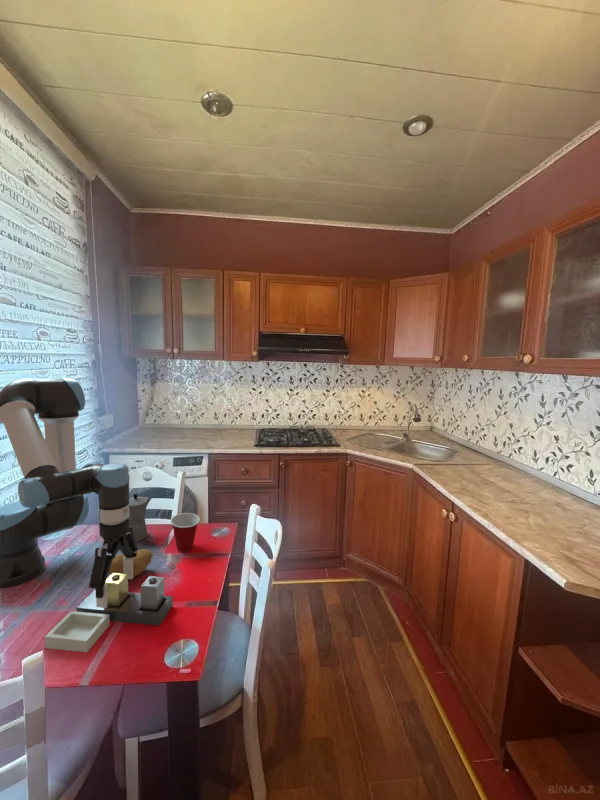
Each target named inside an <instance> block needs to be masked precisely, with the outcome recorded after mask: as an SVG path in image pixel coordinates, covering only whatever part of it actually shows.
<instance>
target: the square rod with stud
mask: <svg viewBox="0 0 600 800" xmlns="http://www.w3.org/2000/svg"><path fill="white" fill-rule="evenodd" d="M140 593H141V611H151V612H158V611H159V610H160V608H161V607H162V605H163V604H164V595H165V577H164V576H153V575H149V576H147V578H146V579H145V580H144V582H143V583H142V584H141V585H140Z"/></svg>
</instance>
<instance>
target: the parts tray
mask: <svg viewBox="0 0 600 800" xmlns="http://www.w3.org/2000/svg"><path fill="white" fill-rule="evenodd" d="M109 627H110V621H109V615H108V614H97V613H87V612H77V610H76V611H74V610H71V611H69V612H68V613H67V615H65V617H63V618H62V619H61V620H60V621H59V622H58V623H57V624H55V626H54V627H52V629H51V630H49V632H48V633H47V634H46V635H45V636H44V648H45V649H51V650H58V651H61V650H62V651H70V652H81V653H88V652H89V651H90V650H91V648H92V647H93V646H94V645H95V643H97V640H99V639H100V637H101V636H102V634H104V633H105V631H106V630H107V629H108V628H109Z"/></svg>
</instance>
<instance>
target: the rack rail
mask: <svg viewBox="0 0 600 800" xmlns="http://www.w3.org/2000/svg"><path fill="white" fill-rule="evenodd" d="M173 601H174V600H173V595H165V594H164V604H163V605H162V607H161V608H160V610H159V611H158V612H151V611H141V592H133V591H132V592H131V591H130V592H129V591H128V599H127V601H126V602H125V603H124V604H123V605H122V607H121V608H120V609H119V608H108V607H107V608H101V607H96V589H94V590H93V591H92V592H91V593H90V594H88V596H87V597H86V598H85V599H84V600H83V601H82V602H81V603H80V604H78V606H77V607H76V612H87V613H97V614H108V615H109V622H118V623H127V624H128V623H130V624H138V625H139V624H140V625H149V626H158V627H159V626H161V624H162V623H163V622H164V620H165V618H166V617H167V615H168V614H169V612H170V611H171V609H172V608H173V604H174V603H173Z"/></svg>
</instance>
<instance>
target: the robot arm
mask: <svg viewBox="0 0 600 800" xmlns="http://www.w3.org/2000/svg"><path fill="white" fill-rule="evenodd" d="M85 405H86V396H85V394H84V390H83V387H82V386H81V384H80V383H79V382H78V381H77V380H76V379H74V378H66V377H65V378H64V377H63V378H62V377H59V378H58V377H57V378H21V379H17V380H14V381H12V382H10V383H8V384H7V385H6V386H4V387H3V388H2V389H1V390H0V423H1V424H3V426H4V429H5V431H6V435H7V436H8V439H9V442H10V444H11V448H12V449H13V452H14V455H15V457H16V459H17V462H18V465H19V468H20V470H21V473H22V475H23V478H24V479H21V480H20V481H19V483H18V486H17V493H18V499H19V500H17V501H13V502H10V503H8V504H4V505H3V506H1V507H0V588H9V587H13V586H14V587H15V586H16V585H21V584H23V583H26V582H28V581H31V580H32V579H34V578H36V577H38V576H39V575H40V574H42V573H43V572H44V571H45V569H46V559H45V556H44V555H43V554H42V551H41V549H40V547H39V539H40V538H42V537H45V536H49V535H53V534H55V533H59V532H62V531H66V530H70V529H73V528H75V527H77V526H80V525H82V524H83V523H84V522H85V521H86V520H87V518H88V515H89V511H90V502H89V497H88V494H92V493H94V494H96V495H98V521H99V525H98V526H99V527H98V528H99V537H101V538H102V539H103V543H102V546H101V547H96V548H95V550H94V561H93V566H92V569H91V574H90V580H89V584H88V588H89V589H94V590H95V589H96V607H101V608H107V606H108V590H107V584H106V583H105V582H106V579H107V578H108V577H109V576H108V575H109V570H110V567H111V563H112V560H113V559H114V558H115V557H116V556H117V553H118V552H121V553H122V554H124V555H125V556H126V557H124V558H123V574H128V580H133V579H134V577H133V557H136V556H137V553H134V552H137V550H139V549H138V545H137V541H135V538H134V535H133V527H132V526H130V519H129V512H130V509H129V498H130V479H131V478H130V477H131V476H130V474H129V473H130V472H129V467H128V465H126V464H124V463H119V462H118V463H115V462H114V463H108V464H103V463H99V462H88V463H86V464H85V465H84V466H82V467H81V468H77V465H76V463H77V462H76V461H77V460H76V441H75V440H76V439H75V421H76V419H78V418H79V415H80V413H79V412H81V411H83V410H84V409H85ZM36 414H37V415H38V416H37V418H38V419H39V420H40V421H41V422H43V425H44V435H43V432H42V430H41V428H40V426H39V423H38V421H37V419H36V417H35V415H36Z"/></svg>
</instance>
